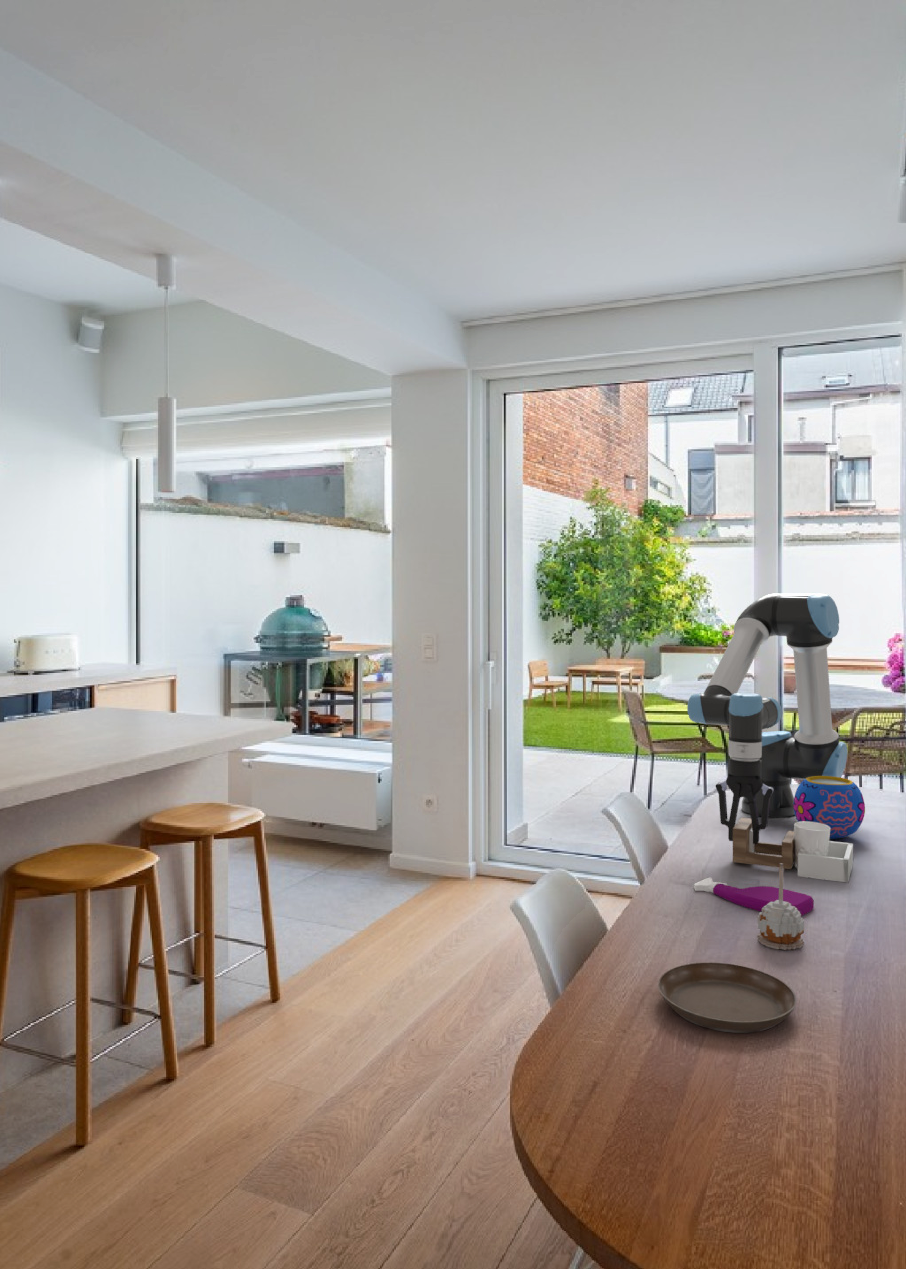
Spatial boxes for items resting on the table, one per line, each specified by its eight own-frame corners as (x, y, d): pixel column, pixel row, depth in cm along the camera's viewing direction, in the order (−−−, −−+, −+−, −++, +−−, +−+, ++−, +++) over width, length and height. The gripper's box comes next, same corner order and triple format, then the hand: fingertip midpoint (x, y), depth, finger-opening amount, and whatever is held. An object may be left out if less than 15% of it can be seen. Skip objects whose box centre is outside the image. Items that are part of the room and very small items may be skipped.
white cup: (822, 876, 213) (824, 832, 212) (787, 868, 218) (789, 826, 217) (832, 867, 219) (834, 825, 218) (798, 860, 224) (800, 819, 223)
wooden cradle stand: (741, 849, 231) (741, 817, 231) (797, 856, 225) (797, 823, 225) (732, 861, 221) (732, 828, 221) (790, 869, 215) (791, 834, 215)
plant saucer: (808, 1046, 135) (808, 1024, 135) (661, 1035, 138) (661, 1013, 138) (783, 986, 155) (783, 966, 155) (655, 978, 159) (655, 958, 158)
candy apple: (767, 933, 178) (768, 855, 177) (808, 943, 173) (810, 862, 172) (751, 945, 172) (752, 864, 171) (793, 956, 167) (795, 872, 166)
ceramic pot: (851, 828, 254) (852, 773, 253) (874, 846, 237) (875, 787, 236) (785, 827, 256) (785, 772, 255) (802, 845, 238) (803, 786, 238)
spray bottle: (793, 923, 185) (684, 895, 202) (818, 909, 192) (711, 884, 210) (793, 908, 184) (684, 882, 202) (818, 895, 192) (711, 871, 210)
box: (805, 858, 226) (805, 838, 226) (852, 864, 221) (853, 843, 221) (797, 876, 213) (798, 854, 213) (848, 882, 208) (848, 860, 208)
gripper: (707, 758, 224) (705, 855, 226) (778, 763, 217) (776, 864, 218) (713, 753, 231) (712, 847, 232) (782, 758, 224) (781, 856, 225)
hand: (743, 855), depth 225 cm, fingers closed on wooden cradle stand, 3 cm apart
